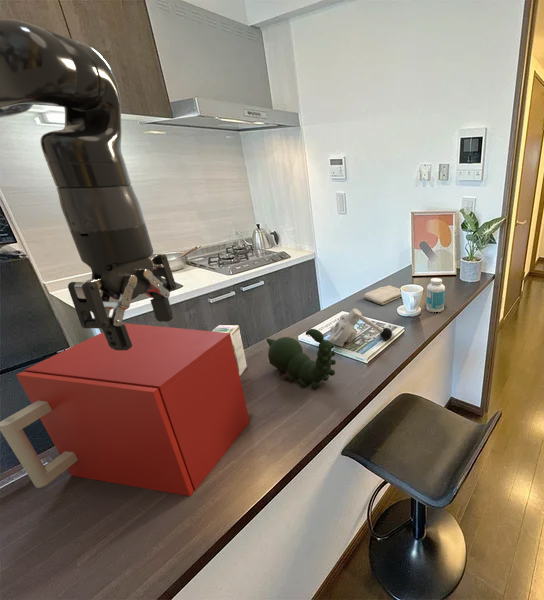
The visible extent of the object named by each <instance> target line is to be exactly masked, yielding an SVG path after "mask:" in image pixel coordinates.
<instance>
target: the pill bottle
mask: <svg viewBox="0 0 544 600" xmlns="http://www.w3.org/2000/svg"><path fill="white" fill-rule="evenodd" d="M445 296H446V286H445V285H444V284H443V279H442V278H439V277H433V278H431V279H430V283H429V284H427V286H426V311H428V312H430V313H434V312H435V313H436V312H438V313H441V312H443V311H444V309H445ZM436 314H437V313H436Z"/></svg>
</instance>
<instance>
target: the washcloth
mask: <svg viewBox="0 0 544 600" xmlns="http://www.w3.org/2000/svg"><path fill="white" fill-rule="evenodd" d="M400 289H401V288H398V287H396V286H393V285H390V284H389V285H386V286H380V287H378V288H375V289H373V290H370V291H368V292H365V294H363V298H364V299H365V300H367V301H369V302H373V303H375V304H378V305H380V306H384V305H387V304H389V303H391V302H393V301H395V300H398V299H401V298H402V297H401V292H400ZM400 297H401V298H400Z"/></svg>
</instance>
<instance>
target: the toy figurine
mask: <svg viewBox="0 0 544 600" xmlns="http://www.w3.org/2000/svg"><path fill="white" fill-rule="evenodd" d="M305 335H306V336H310V338H312V339H313V340H314V341H315V342H316V343H318V346H317V348H318V350H317V352H316V355H317V357H316V359H315V360H313V359H311V357H310V356H309V355H308V354H307V353H305V352H304V350H303V346H302V345H301V343H300V342H299V341H298V340H297V339H295V338H294V337H289V336H283V337H282V336H281V337H279V338H277V339H272V338H266V340H265V341H266V342H267V345H268V346H269V348H268V353H267V357H268V360H269V364H270V365H271V366H273V367H274V368H275V369H277V371H278V372H281V373H284V372H288V373H287V379H288V381H291V382H294V381H296V379H297V378H299V379H300V381H299V385H300V386H301V387H307V386H308V383H311V387H312V388H314V389H318V388H319V386H320V384H321V383H320V382H322V381H323V382H327V381H328V380H329V379H330V377H332V376H335V374H336V371H335V369H333V368H331V366H335V365H336V363H337V361H336V359H332V357H335V356H336V351H335V350H333V349H335V347H336V346H335V345H336V344H334V343H332V342H331V341H330V340H328V339H325V336H324V334H323V333H322V332H321V331H320V330H319V329H317V328H309V329H307V330H306V331H305Z"/></svg>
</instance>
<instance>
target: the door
mask: <svg viewBox="0 0 544 600" xmlns="http://www.w3.org/2000/svg"><path fill="white" fill-rule="evenodd" d="M15 376H16V378H17V379H18V381H19V383H20V385H21V387H22V389H23V391H24V392H25V394H26V396H27V398H28V399H29V402H30V404H29V405H26V407H24V408H22V409H20V410H18V411H16V412H14V413H13V414H11V415H10V416H8V417H6V418H4V419H2V420H1V421H0V433H1V434H2V436H3V437H4V439H5V441H6V442H7V444H8V446H9V447H10V448H11V450H12V452H13V453H14V455H15V456H16V459H17V460H18V461H19V463H20V465H21V466H22V468H23V469H24V471H25V473H26V474H27V476H28V478H29V479H30V481H31V482H32V484H33V486H34V487H35V488H36V489H39V488H40V489H41V488H43V487H45V486H47V485H48V484H49V483H51V482H52V481H54V480H55V479H56V478H57V477H58V476H61V474H63V473H64V472H65V471H66V470H67V471H68V473H69V474H70V476H72V477H77V478H83V479H89V480H94V481H101V482H107V483H111V484H118V485H123V486H129V487H134V488H141V489H146V490H152V491H158V492H162V493H163V492H164V493H169V494H175V495H181V496H186V497H191V496H192V495H193V494H194V492H195V490H193V488H192V485H191V482H190V479H189V476H188V473H187V470H186V468H185V465H184V462H183V459H182V456H181V453H180V450H179V448H178V445H177V442H176V439H175V436H174V433H173V430H172V427H171V425H170V422H169V419H168V416H167V413H166V410H165V407H164V405H163V402H162V399H161V396H160V393H159V390H158V388H151V387H142V386H134V385H126V384H118V383H110V382H102V381H94V380H86V379H78V378H70V377H62V376H54V375H46V374H38V373H30V372H25V371H21V372H19V373H17V374H16V375H15ZM38 420H40V422H41V423H42V425H43V427H44V429H45V431H46V433H47V434H48V436H49V438H50V440H51V442H52V444H53V445H54V447H55V449H56V451H57V453H58V454H59V455H58V456H57V457H55V458H54V459H52V460H51V461H50V462H49V463H47V464H46V465H44V463H43V462H42V460H41V458H40V457H39V455H38V453H37V451H36V450H35V448H34V446H33V444H32V443H31V441H30V440H29V438H28V436H27V434H26V433H25V431H24V430H23V429H24V428H26V427H28V426H29V425H31V424H33V423H35V422H36V421H38Z"/></svg>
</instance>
